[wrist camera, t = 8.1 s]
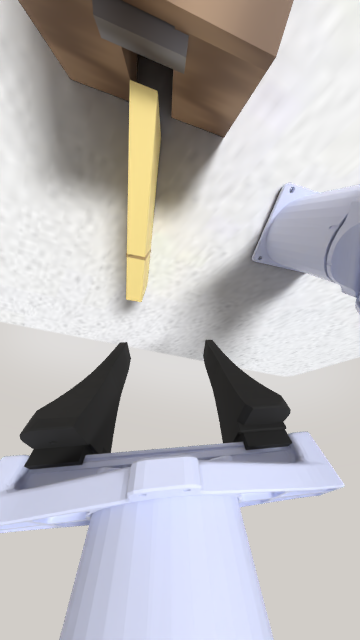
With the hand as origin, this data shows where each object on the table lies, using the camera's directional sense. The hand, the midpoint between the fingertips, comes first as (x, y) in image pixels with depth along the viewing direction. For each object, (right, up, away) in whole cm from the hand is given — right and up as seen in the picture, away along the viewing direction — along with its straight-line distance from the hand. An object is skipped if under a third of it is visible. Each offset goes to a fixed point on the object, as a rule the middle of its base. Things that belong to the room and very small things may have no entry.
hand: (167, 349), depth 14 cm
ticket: (-3, +14, +3) cm, 14 cm away
